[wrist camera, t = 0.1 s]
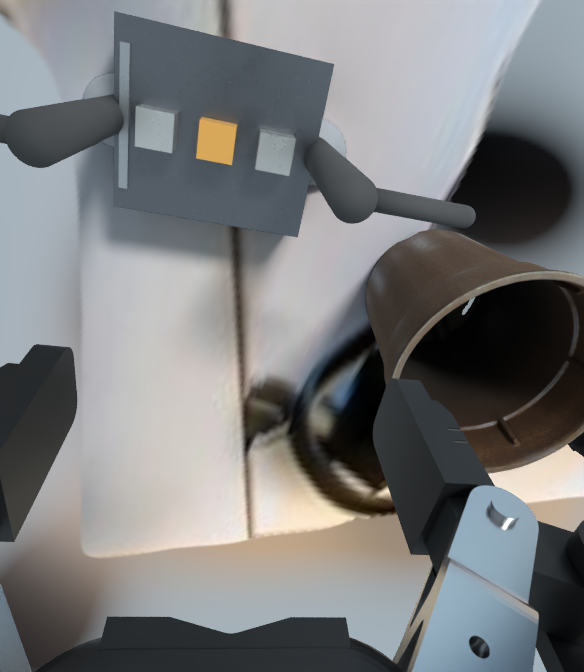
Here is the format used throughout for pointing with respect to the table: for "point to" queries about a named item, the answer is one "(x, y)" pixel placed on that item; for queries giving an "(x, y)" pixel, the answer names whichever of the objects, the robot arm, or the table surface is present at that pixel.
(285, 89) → the grey block holder
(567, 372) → the plant pot
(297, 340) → the table surface
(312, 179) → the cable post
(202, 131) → the orange matte cube
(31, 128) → the cable post
